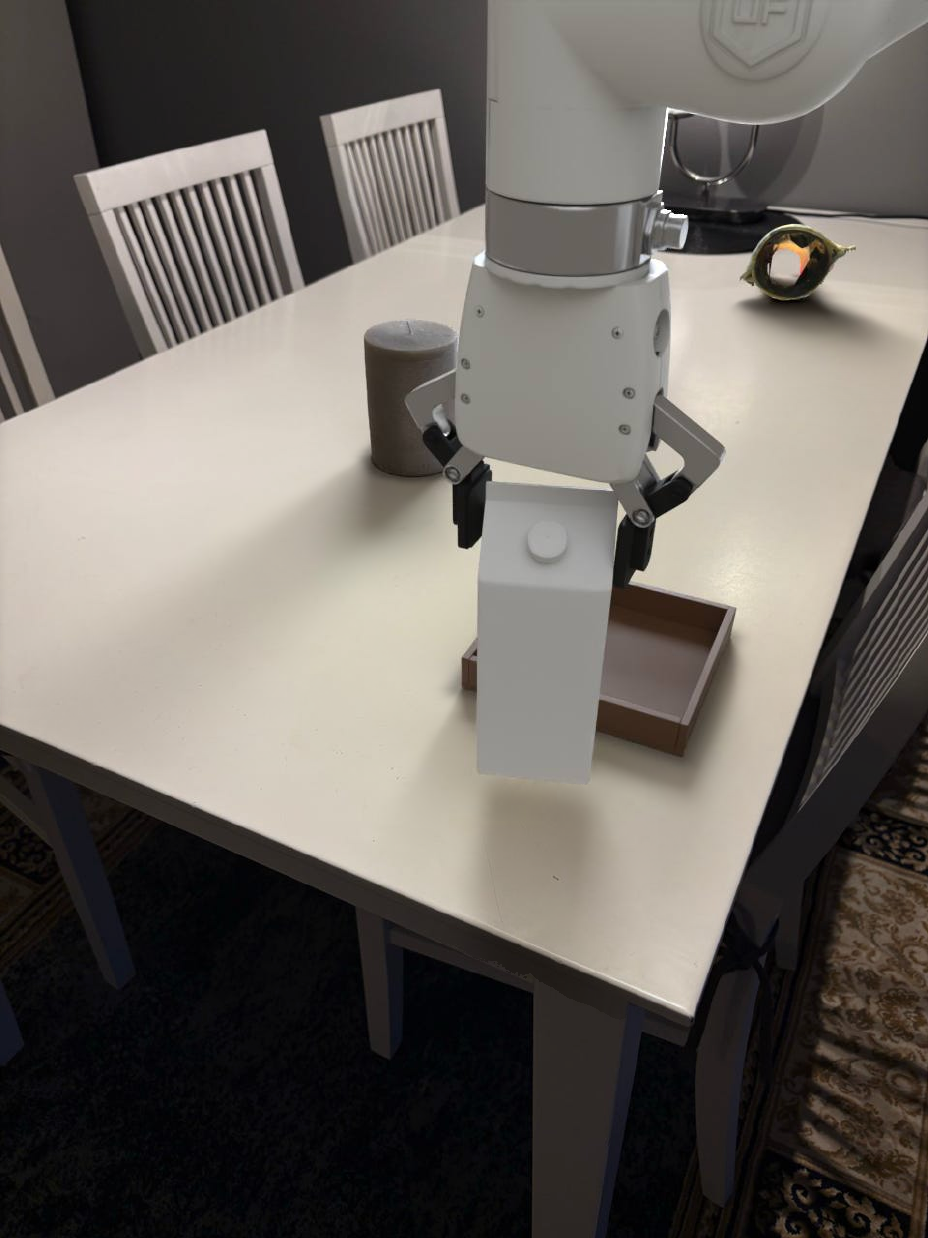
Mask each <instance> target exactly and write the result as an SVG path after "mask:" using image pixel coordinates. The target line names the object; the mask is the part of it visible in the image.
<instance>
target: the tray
mask: <svg viewBox="0 0 928 1238" xmlns="http://www.w3.org/2000/svg"><path fill="white" fill-rule="evenodd" d="M737 609H738V608H737V607H736V606H732V605H728V604H724V603H720V602H716V601H714V600H713V601H712V600H708V599H705V598H701V597H696V596H693V595H689V594H685V593H681V592H678V591H673V590H669V589H666V588H661V587H657V586H653V585H649V584H646V583H641V582H638V581H634V580H630V581H629V583H628V585H627V586H626V588H625V590H622V589H618V588H615V587H614V585H613V584H612V591H611V599H610V608H609V617H608V625H607V634H606V643H605V652H604V660H603V669H602V678H601V686H600V695H599V704H598V713H597V721H596V730H595V731H598V732H601V733H604V734H607V735H610V736H613V737H617V738H619V739H624V740H626V741H630V742H633V743H636V744H639V745H641V746H645V747H648V748H652V749H655V750H657V751H661V752H664V753H667V754H671V755H674V756H677V757H680V758H683V757H684V754H685V753H686V749H687V747H688V744H689V741H690V739H691V737H692V734H693V731H694V729H695V726H696V724H697V721H698V719H699V717H700V714H701V712H702V709H703V706H704V704H705V701H706V699H707V696H708V694H709V692H710V689H711V687H712V684H713V681H714V679H715V676H716V674H717V671H718V669H719V667H720V665H721V661H722V659H723V656H724V654H725V651H726V648H727V646H728V644H729V642H730V639H731V636H732V631H733V627H734V622H735V618H736V613H737ZM461 688H462V689H464V690H468V691H471V692H475V693H477V637H476V638H475V639H474V641H473V642H472V643H471V644H470V646H469V647H468V648H467V650H466V651H465V652H464V653H463V655H462V656H461Z"/></svg>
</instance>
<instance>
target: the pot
mask: <svg viewBox="0 0 928 1238" xmlns="http://www.w3.org/2000/svg"><path fill="white" fill-rule="evenodd" d="M857 248H858V246H857V245H849V246H844V245H840V244H838V243H837V242H835V241H832V240H831V239H830V238H828V237H826V236H825V235H824V234H823V233H822V232H821V231H819V230H818V229H816V228H814V227H811V226H807V225H804V224H797V223H791V224H786V225H781V226H779V227H776V228H774V229H772V230H771V231H770V232H768V233H767V234H766V235H764V236H763V237H762V238H761V239H760V240H759V241H758V243H757V245H756V246H755V248H754V250H753V252H752V254H751V257H750V260H749V263H748V265H747V266H746V269H745V271H744V272H743V273H742V275H741V276H740V277H739V278H738V281H742V280H743V282H745V283H746V284H747V285H750V286H751V287H754V286H755V287H757V288H758V289H759V290H760V292H761V293H763V294H764V295H767V296H769V298H770V297H771V298H773V299H776V300H780V301H790V300H800V299H802V298H806V297H808V296H810V295H811V293H814V292H815V291H816V290H818V288H819V286H820V285H823V283H824V282H825V280H826V278H827V277H828V276H829V274H830V273H831V272H832V271H833V269H834V266H835V264H836V263H837V262H838V260H839V259H841V258H843V257H844V256H846V253H850V252H852V251H855V252H856V251H857ZM781 250H788V251H791V252H794V253H796V254H797V256H798V258H799V273H798V278H797V279H796V281H795V283H794V284H793V285H789V286H785V287H782V286H781V285H779V284H778V283H777V282H776V281H775V280H773V279H772V278H771V270H772V263H773V256H774V255H775V253H777V252H778V251H781Z"/></svg>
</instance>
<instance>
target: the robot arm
mask: <svg viewBox="0 0 928 1238" xmlns="http://www.w3.org/2000/svg"><path fill="white" fill-rule="evenodd" d="M927 23H928V0H487V26H486V28H487V29H486V31H487V32H486V35H487V37H486V46H487V47H486V112H485V114H486V116H485V117H486V118H485V120H486V121H485V125H486V126H485V127H486V129H485V131H486V132H485V195H484V196H485V200H484V201H485V203H484V205H485V207H484V208H485V209H484V248H483V249H482V250H481V251H480V252H479V253H477V254H476V255H475V256H474V257H473V259H472V264H471V268H470V272H469V276H468V281H467V285H466V290H465V297H464V302H463V307H462V314H461V321H460V328H459V335H458V343H457V352H458V353H457V367H456V369H454V370H452V371H450V372H447V373H445V374H443V375H441V376H439V377H437V378H435V379H432V380H430V381H428V382H426V383H424V384H422V385H419V386H418V387H417V388H415V389H414V390H413V391H411V392H410V393H409V394H407V395H406V397H405V404H406V406H407V408H408V410H409V412H410V414H411V416H412V417H413V419H414V421H415V423H416V425H417V427H418V428H419V429H421V431H422V433H423V435H422V439H423V442H424V444H425V445H426V447H427V448H428V449H429V450H430V452H431V453H432V454H433V455H434V456H435V458H436V459H437V460H438V461H439V462H440V464H441V465H442V466H443V467H444V469H443V471H442V475H443V478H444V480H445V481H446V482H448V483H449V484H451V488H452V491H451V493H452V494H451V495H452V498H451V499H452V501H451V502H452V523H453V525H454V526H457V547H458V548H459V549H462V550H463V549H464V550H469V549H472V548H473V547H474V546H475V545H476V544H477V542H478V541H479V540H480V539H482V531H483V521H484V512H485V502H486V482H487V481H493V471H492V469H491V464H489V463H485V460H484V459H485V458H488V459H492V460H495V461H500V462H503V463H507V464H513V465H518V466H522V467H527V468H531V469H535V470H540V471H545V472H549V473H554V474H558V475H563V476H568V477H572V478H577V479H581V480H585V481H593V482H596V483H603V484H608V485H609V486H610V489H612V490H613V491H614V493H615V495H616V496H617V498H618V500H619V501H618V502H619V504H620V505H621V506H622V508H623V511H625V513H626V514H625V515H624V517H623V518H622V519H621V521H620V522H619V524H618V526H617V530H616V539H615V551H614V565H613V579H612V584H613V585H614V587H615V588H618V589H622V590H625V588H626V586H627V585H628V583H629V581H632V578H633V577H634V574H635V573H636V572H637V571H638V572H645V571H646V570H647V567H648V565H649V563H650V560H651V558H652V557H651V556H652V551H653V547H654V545H653V544H654V538H655V531H656V525H657V524H656V523H657V519H659V518H660V517H661V516H663V515H666V514H667V513H668V512H670V511H672V510H674V509H675V508H678V507H679V506H680V505H683V503H685V502H687V501H688V500H689V498H690V497H691V496H692V495H693V494H694V493H695V492H696V491H697V490H698V489H699V488H700V487H701V486H702V485H703V484H704V483H705V482H706V481H707V480H708V479H709V478H710V477H711V476H712V475H713V474H714V473H715V472H716V471H717V470H718V468H719V467H720V466H721V464H722V462H723V460H724V458H725V457H726V452H727V451H726V447H725V446H724V445H723V443H721V442H720V441H719V440H718V439H717V438H715V436H713V435H712V434H711V433H709V432H708V431H707V430H706V429H704V428H703V427H702V426H701V425H700V424H698V423H697V422H696V421H694V420H693V419H692V417H690V416H689V415H687V414H686V413H685V412H683V410H682V409H680V408H679V407H678V406H677V405H675V404H674V403H673V402H672V401H670V400H669V399H668V396H669V395H668V393H669V379H670V362H671V340H672V339H671V336H672V335H671V332H672V325H671V324H672V310H671V309H672V308H671V307H672V305H671V285H670V284H671V283H670V274H669V266H668V265H667V264H666V263H665V262H663V261H662V260H657V259H652V256H653V255H655V253H657V252H658V251H665V250H667V248H668V249H675V250H682V249H683V248H684V245H685V243H686V239H687V235H688V230H689V216H688V215H684V214H674V213H673V212H672V210H667V209H665V203H664V202H663V195H664V191H663V190H659V188H660V182H661V174H662V167H663V165H662V164H663V158H664V150H665V149H664V147H665V139H666V132H667V125H668V124H667V123H668V115H669V109H671V110H675V111H680V112H684V113H689V114H693V115H697V116H701V117H705V118H709V119H713V120H718V121H721V122H728V123H734V124H743V125H753V126H754V125H755V126H756V125H758V126H759V125H773V124H778V123H782V122H786V121H791V120H795V119H797V118H800V117H802V116H805V115H807V114H809V113H811V112H813V111H814V110H816V109H818V108H820V107H821V106H823V105H825V104H826V103H827V102H828V101H830V100H831V99H833V98H835V96H837V95H838V94H839V93H840V92H841V91H842V90H843V89H845V87H847V85H848V84H849V83H850V82H851V81H852V80H853V79H854V78H855V77H856V76H857V74H858V73H859V72H860V70H861V69H862V68H863V67H864V65H865V64H866V62H867V61H868V60H870V59H871V58H872V57H874V56H876V55H877V54H879V53H880V52H882V51H884V50H886V49H887V48H888V47H890V46H891V45H893V44H894V43H896V42H897V41H900V40H901V39H902V38H904V37H906V36H907V35H909V34H911V33H912V32H914V31H915V30H918V29H919V28H920V27H922V26H924V25H926V24H927ZM454 398H455V422H456V427H455V425H454V424H453V423H452V422H451V421H450V420H449V419H447V418H446V417H445V412H444V410H443V408H442V404H443V403H445V402H447V401H450V400H452V399H454ZM661 441H662V442H664V443H665V444H666V445H667V446H668V447H670V449H672V450H674V451H675V452H676V453H677V454H678V455H679V456H681V458H682V459H683V462H684V464H682V465H681V466H680V467H679V468H678V469H677V470H675V471H673V472H672V473H670V474H668V475H666V476H665V477H663V478H662V479H661V477H660V475H659V474H658V472H657V471H656V468H655V467H654V465H653V463H652V462H651V460H650V458H649V456H648V454H647V453H649V452H657V450H658V448H659V447H660V444H661Z"/></svg>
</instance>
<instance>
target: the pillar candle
mask: <svg viewBox="0 0 928 1238" xmlns="http://www.w3.org/2000/svg"><path fill="white" fill-rule="evenodd" d="M459 335H460V333H459V332H458V330H457V331H456V330H455V329H454V328H453V327H451V326H449V325H447V324H446V323H445V324H444V323H442V322H441V323H440V322H437V321H432V320H427V319H426V320H424V319H418V318H417V319H416V318H407V319H406V318H405V319H399V320H391V321H386V322H381V323H378V324H375V325H372V326H371V327H370V328H368V329H367V330H366V331H365V332H364V334H363V350H364V351H363V352H364V367H365V369H364V371H365V382H366V385H365V386H366V398H367V399H366V402H367V416H368V426H369V436H370V437H369V438H370V451H371V456H370V457H371V461H372V463H373V465H374V466H375V467H376V468H378V469H380V470H382V471H383V472H386V473H387V474H391V475H394V476H406V477H422V476H428V475H435V474H439V473H441V472H443V469H444V467H443V466H442V465H441V464H440V462H439V461H438V460H437V459H436V458H435V456H434V455H433V454H432V453H431V452H430V450H429V449H428V448H427V447H426V445H425V444H424V442H423V439H422V435H423V433H422V431H421V429H419V428H418V427H417V425H416V423H415V421H414V419H413V417H412V416H411V414H410V412H409V410H408V408H407V406H406V404H405V397H406V395H407V394H409V393H410V392H411V391H413V390H414V389H415V388H417V387H418V386H419V385H422V384H424V383H426V382H428V381H430V380H432V379H435V378H437V377H439V376H441V375H443V374H445V373H447V372H450V371H452V370H454V369H456V367H457V353H458V340H459ZM442 408H443V410H444V412H445V417H446V418H447V419H449V420H450V421H451V422H452V423H453V424H454V425H455V427H456V422H455V398H454V399H452V400H450V401H447V402H445V403H443V404H442Z"/></svg>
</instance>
